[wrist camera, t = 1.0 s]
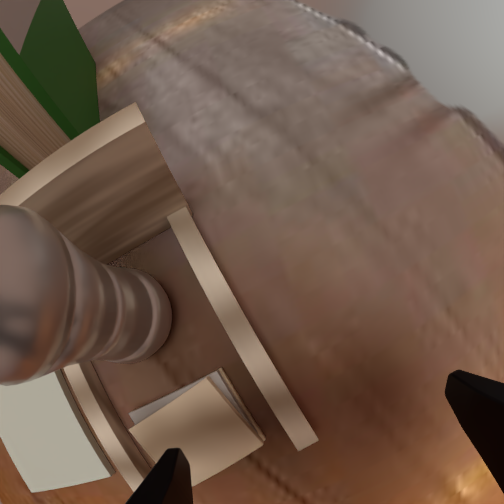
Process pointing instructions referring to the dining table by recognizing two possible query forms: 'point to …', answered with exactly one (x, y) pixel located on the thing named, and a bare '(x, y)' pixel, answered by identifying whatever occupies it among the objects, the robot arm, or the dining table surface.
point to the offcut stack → (199, 425)
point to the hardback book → (42, 82)
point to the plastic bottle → (69, 303)
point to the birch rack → (127, 238)
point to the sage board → (49, 435)
